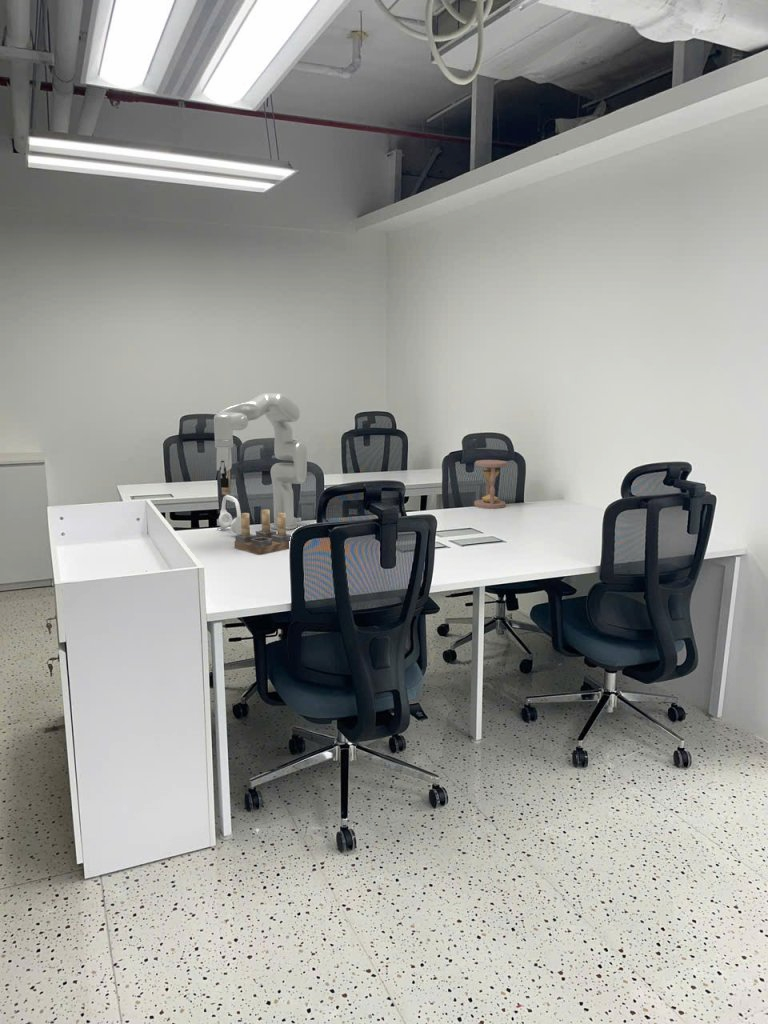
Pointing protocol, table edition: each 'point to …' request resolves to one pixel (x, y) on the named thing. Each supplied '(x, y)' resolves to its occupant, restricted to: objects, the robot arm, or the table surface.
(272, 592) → the table surface
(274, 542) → the stool
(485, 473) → the hourglass
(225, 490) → the oak leg
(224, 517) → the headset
